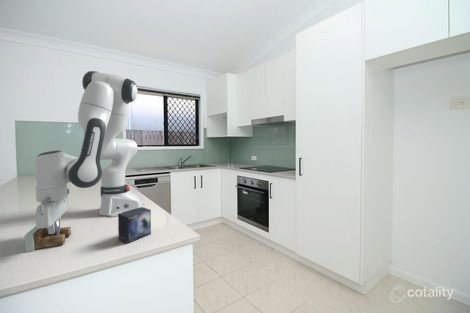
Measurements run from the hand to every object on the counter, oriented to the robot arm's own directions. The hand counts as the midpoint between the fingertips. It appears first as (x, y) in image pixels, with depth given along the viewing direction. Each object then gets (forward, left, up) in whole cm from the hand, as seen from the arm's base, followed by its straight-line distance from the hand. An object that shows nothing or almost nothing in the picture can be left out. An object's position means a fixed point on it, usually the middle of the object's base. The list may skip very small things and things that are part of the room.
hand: (54, 231), depth 82 cm
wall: (+5, 0, -4) cm, 7 cm away
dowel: (0, 0, -4) cm, 4 cm away
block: (0, 0, -4) cm, 4 cm away
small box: (-28, +7, -4) cm, 29 cm away
